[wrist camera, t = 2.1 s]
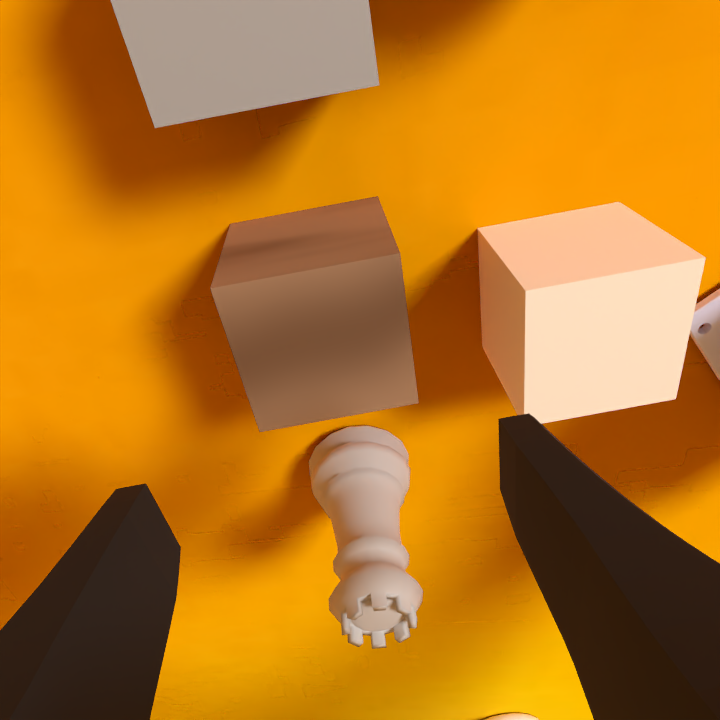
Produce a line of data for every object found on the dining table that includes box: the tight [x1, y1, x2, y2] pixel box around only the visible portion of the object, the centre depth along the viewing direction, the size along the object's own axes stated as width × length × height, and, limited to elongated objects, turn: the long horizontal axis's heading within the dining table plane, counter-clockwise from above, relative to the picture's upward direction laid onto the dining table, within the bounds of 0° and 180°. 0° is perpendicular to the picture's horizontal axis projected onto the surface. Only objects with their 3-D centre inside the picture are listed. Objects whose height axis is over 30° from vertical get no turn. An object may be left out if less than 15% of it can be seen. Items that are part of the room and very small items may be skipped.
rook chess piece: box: [309, 425, 423, 649], centre depth 21 cm, size 4×4×8 cm
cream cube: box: [477, 202, 706, 424], centre depth 19 cm, size 5×5×5 cm
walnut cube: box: [210, 196, 419, 432], centre depth 18 cm, size 5×5×5 cm
